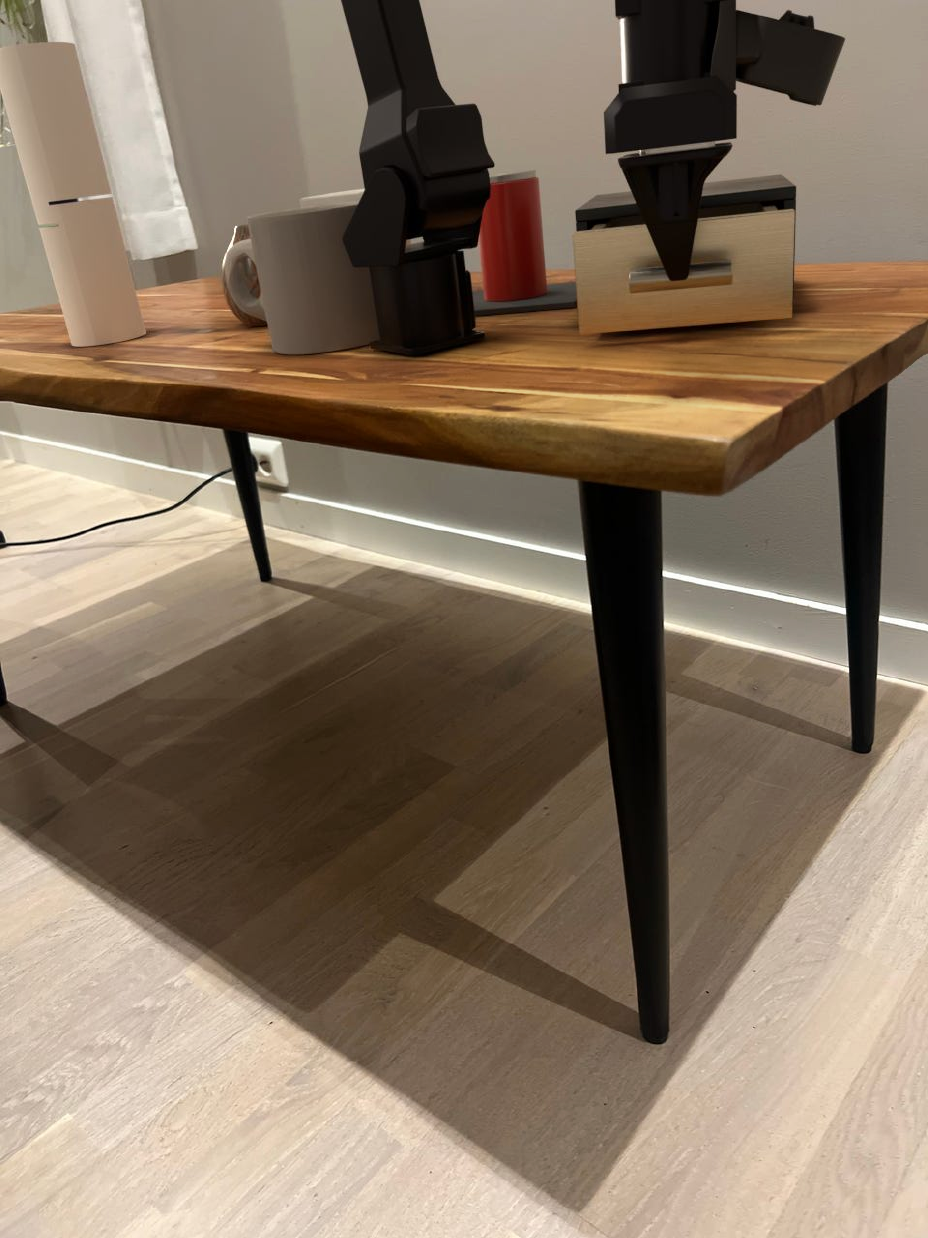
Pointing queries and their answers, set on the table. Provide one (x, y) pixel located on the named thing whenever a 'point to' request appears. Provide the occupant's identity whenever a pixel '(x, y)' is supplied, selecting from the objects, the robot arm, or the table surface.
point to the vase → (250, 280)
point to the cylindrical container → (70, 191)
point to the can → (512, 239)
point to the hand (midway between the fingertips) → (678, 279)
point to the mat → (529, 301)
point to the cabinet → (712, 196)
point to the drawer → (718, 277)
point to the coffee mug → (305, 280)
